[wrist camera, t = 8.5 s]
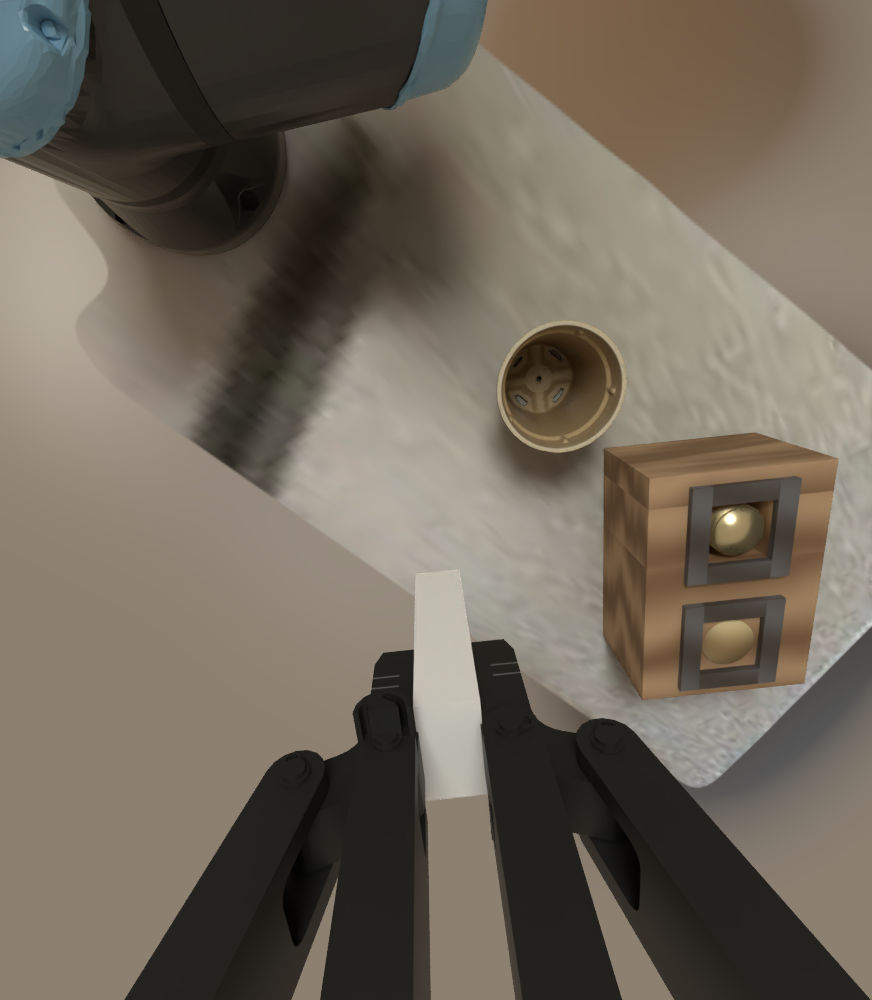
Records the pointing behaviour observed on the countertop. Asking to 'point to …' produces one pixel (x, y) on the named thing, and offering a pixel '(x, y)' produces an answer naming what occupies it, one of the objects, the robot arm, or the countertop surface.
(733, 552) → the peg
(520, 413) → the flower pot
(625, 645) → the socket block
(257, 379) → the countertop surface
